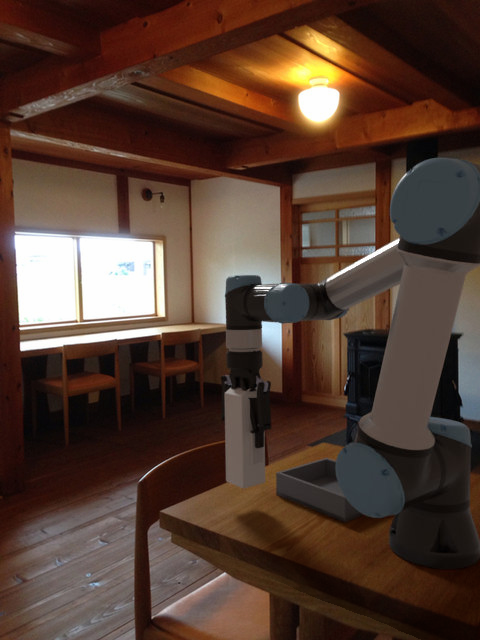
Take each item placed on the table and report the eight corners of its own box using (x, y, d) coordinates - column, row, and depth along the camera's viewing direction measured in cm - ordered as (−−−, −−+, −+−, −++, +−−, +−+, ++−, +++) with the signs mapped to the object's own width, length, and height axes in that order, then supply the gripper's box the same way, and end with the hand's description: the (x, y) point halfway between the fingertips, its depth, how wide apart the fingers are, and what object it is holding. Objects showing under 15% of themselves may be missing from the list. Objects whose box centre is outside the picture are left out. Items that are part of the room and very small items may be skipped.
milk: (243, 489, 112) (240, 381, 111) (225, 481, 117) (223, 377, 115) (266, 482, 115) (264, 378, 114) (248, 475, 120) (246, 374, 119)
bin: (394, 501, 119) (395, 478, 119) (344, 522, 108) (344, 497, 108) (326, 478, 134) (326, 457, 134) (276, 494, 123) (276, 472, 123)
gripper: (289, 351, 110) (290, 465, 111) (229, 345, 125) (231, 446, 126) (261, 354, 105) (263, 473, 106) (202, 347, 120) (204, 453, 121)
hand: (245, 458), depth 116 cm, fingers closed on milk, 6 cm apart
